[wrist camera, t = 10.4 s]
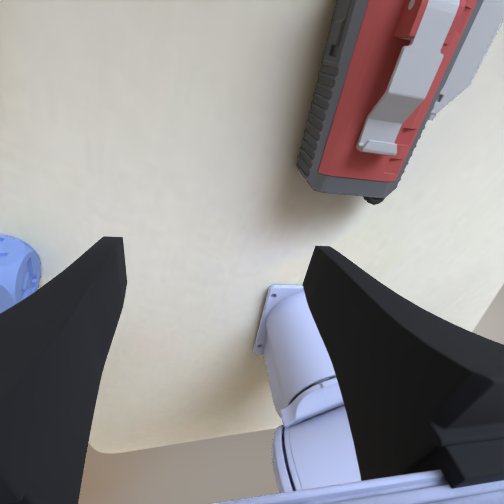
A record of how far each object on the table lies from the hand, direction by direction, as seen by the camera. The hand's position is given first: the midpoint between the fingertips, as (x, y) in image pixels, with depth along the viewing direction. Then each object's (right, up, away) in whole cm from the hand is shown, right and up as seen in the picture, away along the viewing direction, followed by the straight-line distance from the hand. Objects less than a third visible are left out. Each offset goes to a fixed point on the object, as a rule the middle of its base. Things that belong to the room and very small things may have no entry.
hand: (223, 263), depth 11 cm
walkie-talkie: (+9, +13, +6) cm, 17 cm away
